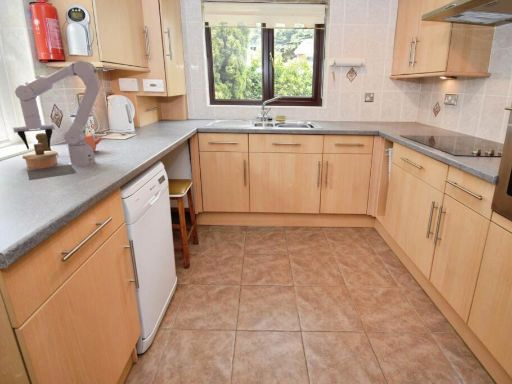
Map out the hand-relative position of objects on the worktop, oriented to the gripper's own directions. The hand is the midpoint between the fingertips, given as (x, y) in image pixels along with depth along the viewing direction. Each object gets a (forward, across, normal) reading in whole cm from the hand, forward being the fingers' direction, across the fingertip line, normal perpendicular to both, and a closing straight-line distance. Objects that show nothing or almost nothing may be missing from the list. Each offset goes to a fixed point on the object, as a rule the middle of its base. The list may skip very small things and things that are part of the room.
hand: (38, 147), depth 141 cm
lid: (+3, 0, +1) cm, 4 cm away
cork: (+8, -3, -23) cm, 24 cm away
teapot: (+8, -20, -19) cm, 29 cm away
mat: (+8, -2, +15) cm, 17 cm away
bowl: (+8, 0, 0) cm, 8 cm away
